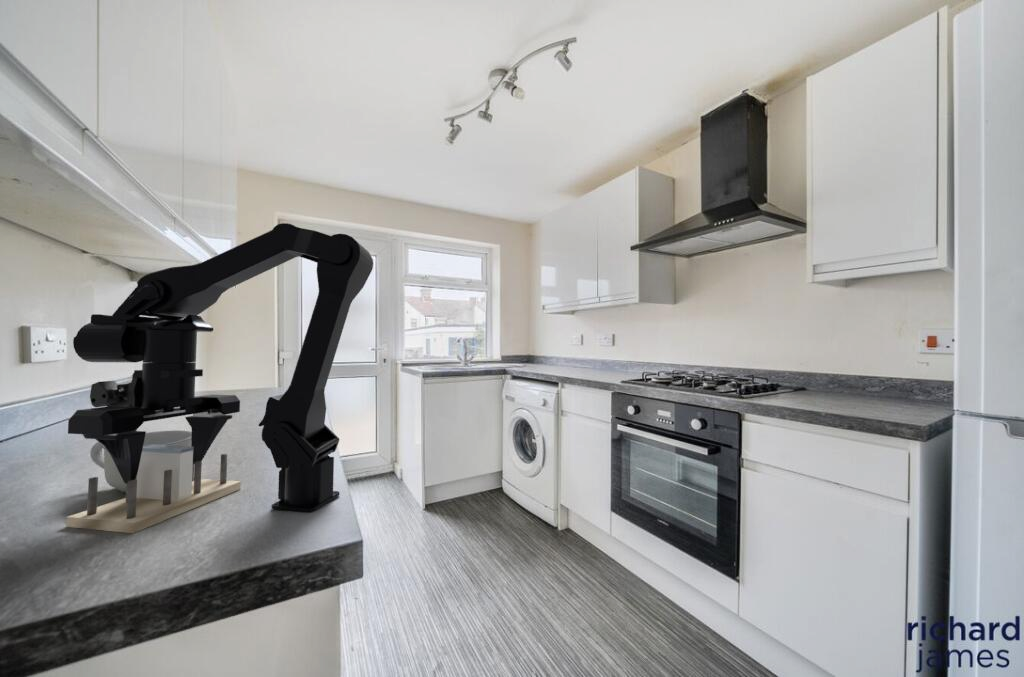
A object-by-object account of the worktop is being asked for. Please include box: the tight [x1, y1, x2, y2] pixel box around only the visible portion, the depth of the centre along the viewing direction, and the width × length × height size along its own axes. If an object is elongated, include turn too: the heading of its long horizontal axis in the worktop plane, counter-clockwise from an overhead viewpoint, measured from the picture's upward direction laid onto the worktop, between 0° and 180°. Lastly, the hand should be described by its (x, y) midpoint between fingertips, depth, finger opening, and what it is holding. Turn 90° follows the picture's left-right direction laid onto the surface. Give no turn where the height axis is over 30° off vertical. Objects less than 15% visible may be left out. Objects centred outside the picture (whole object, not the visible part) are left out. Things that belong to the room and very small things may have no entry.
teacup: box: [89, 429, 192, 493], centre depth 62 cm, size 14×11×8 cm
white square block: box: [136, 445, 194, 501], centre depth 54 cm, size 7×2×7 cm, turn 81°
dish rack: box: [65, 453, 242, 534], centre depth 54 cm, size 10×15×6 cm, turn 171°
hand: (165, 472), depth 54 cm, fingers open, 9 cm apart
